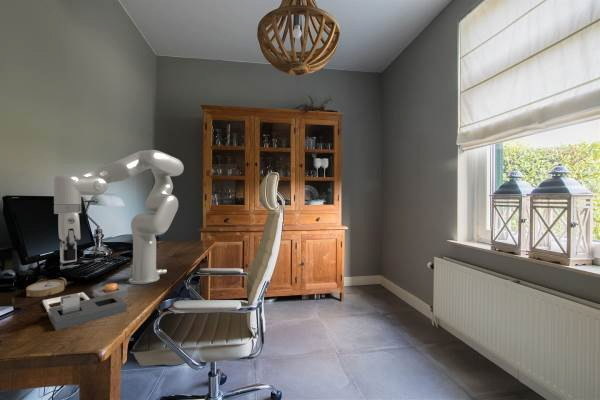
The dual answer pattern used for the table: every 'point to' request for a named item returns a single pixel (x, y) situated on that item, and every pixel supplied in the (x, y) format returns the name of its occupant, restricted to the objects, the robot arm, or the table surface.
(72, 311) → the block
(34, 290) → the alarm clock
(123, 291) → the button housing
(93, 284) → the table surface
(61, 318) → the grey slotted frame
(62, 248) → the billet
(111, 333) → the table surface
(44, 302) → the tray
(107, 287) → the button cap
